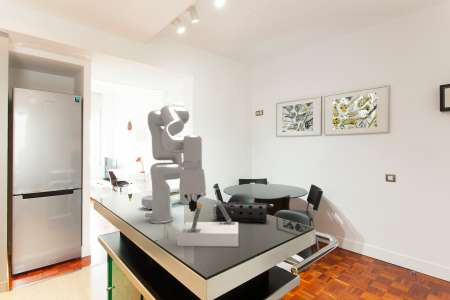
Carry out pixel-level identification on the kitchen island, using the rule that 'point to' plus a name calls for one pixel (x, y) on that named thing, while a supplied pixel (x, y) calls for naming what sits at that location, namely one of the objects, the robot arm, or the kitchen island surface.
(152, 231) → the kitchen island surface
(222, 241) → the panel
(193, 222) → the lever
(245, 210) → the muzzle brake
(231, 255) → the kitchen island surface
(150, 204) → the paper bowls
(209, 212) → the kitchen island surface
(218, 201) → the lever
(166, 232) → the kitchen island surface
